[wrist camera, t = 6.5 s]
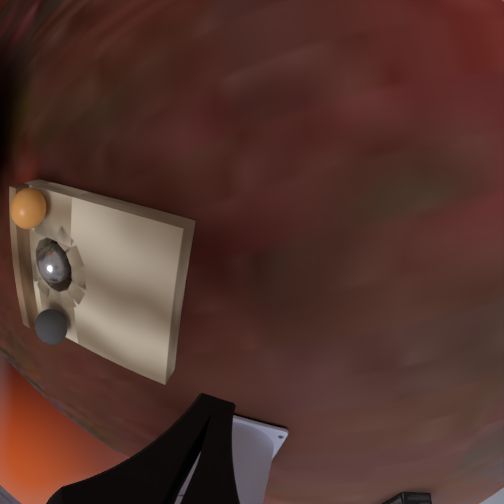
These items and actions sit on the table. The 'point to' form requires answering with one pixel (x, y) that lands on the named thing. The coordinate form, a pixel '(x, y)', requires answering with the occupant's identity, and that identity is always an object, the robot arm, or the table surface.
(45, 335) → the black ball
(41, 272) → the steel ball
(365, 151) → the table surface
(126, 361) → the bearing plate
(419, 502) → the small box
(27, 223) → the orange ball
